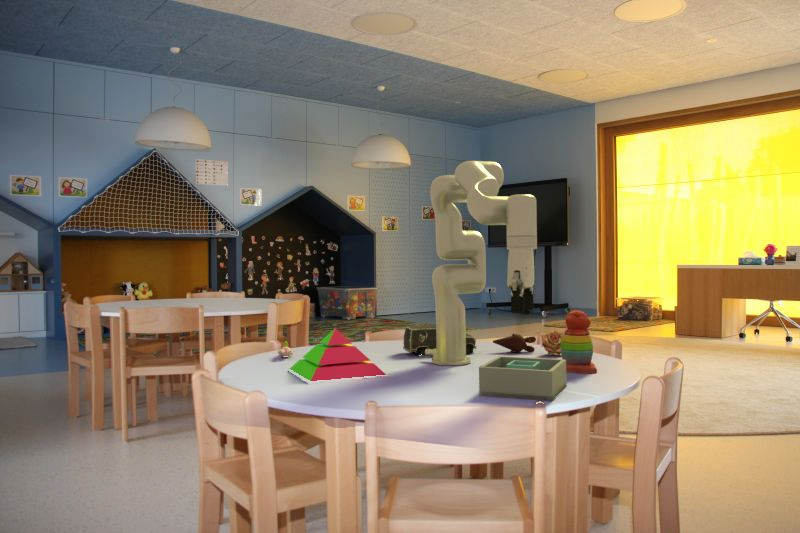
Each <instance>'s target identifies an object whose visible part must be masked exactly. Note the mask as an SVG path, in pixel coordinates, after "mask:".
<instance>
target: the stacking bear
mask: <svg viewBox="0 0 800 533" xmlns="http://www.w3.org/2000/svg"><path fill="white" fill-rule="evenodd" d="M565 324H566V328H567V329H565V331H564V332H563V333H564V334H563V336H562V341H561V354H560V356H561V359H564V360H566V372H567V371H568V372H569V373H575V372H576V374H596V373H597V372H598V369H597V367H596V365H595V364H594V363H593V362H592V359H593V355H594V344H593V340H592V339H593V338H592V337H591V336H592V335H591V333H590V331H589V330H588V328H589V327H590V326H591V324H592V319H591V318H589V317H588V316H587V314H586V313H585V311H582V310H576V309H572V310H570V311H569V312H568V313H567V314H566V316H565ZM568 372H567V373H568Z"/></svg>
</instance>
